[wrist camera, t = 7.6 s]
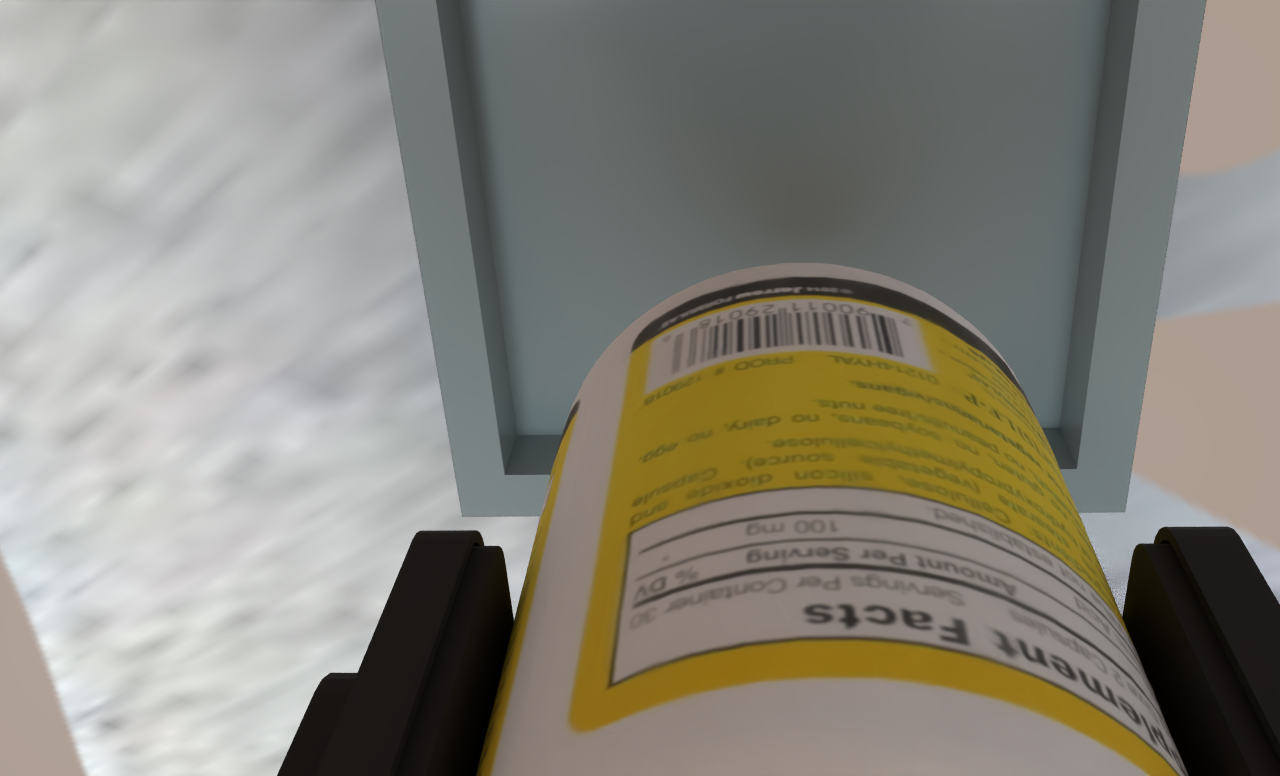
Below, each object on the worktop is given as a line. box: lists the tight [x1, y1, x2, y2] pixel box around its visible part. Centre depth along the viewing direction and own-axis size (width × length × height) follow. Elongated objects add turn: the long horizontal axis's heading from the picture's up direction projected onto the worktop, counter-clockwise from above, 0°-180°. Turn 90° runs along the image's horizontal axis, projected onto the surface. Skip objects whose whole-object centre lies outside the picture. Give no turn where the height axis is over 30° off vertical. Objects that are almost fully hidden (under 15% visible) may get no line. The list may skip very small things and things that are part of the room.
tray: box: [375, 0, 1206, 517], centre depth 22 cm, size 13×13×2 cm
